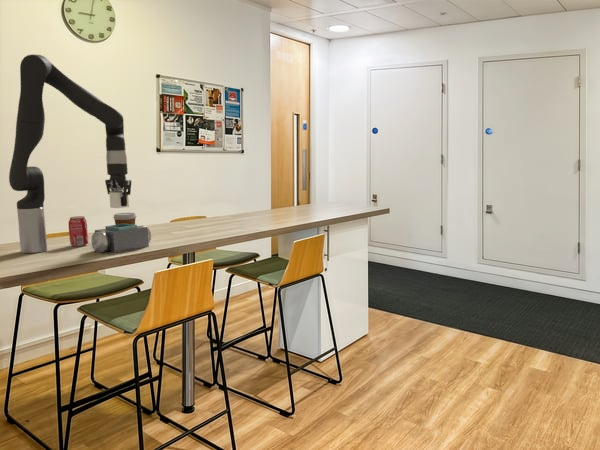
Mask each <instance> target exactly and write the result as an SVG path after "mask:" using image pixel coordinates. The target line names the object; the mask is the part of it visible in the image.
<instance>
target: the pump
mask: <svg viewBox="0 0 600 450" xmlns="http://www.w3.org/2000/svg"><path fill="white" fill-rule="evenodd" d="M114 190H115V192H109V194H108V195H109V206H110V207H109V208H112V209H113V208H114V209H121V208H123V209H124V208H130V204H129V202H130V200H129V195H128V196H127V206H121V195H120V192H119V191H118V189H117V188H114ZM122 192H123V191H122Z"/></svg>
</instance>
